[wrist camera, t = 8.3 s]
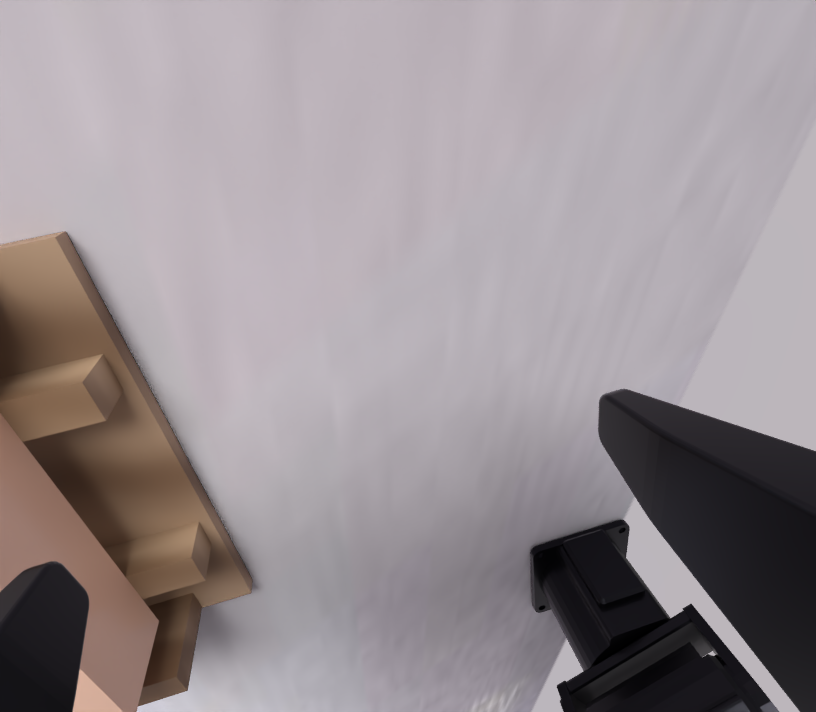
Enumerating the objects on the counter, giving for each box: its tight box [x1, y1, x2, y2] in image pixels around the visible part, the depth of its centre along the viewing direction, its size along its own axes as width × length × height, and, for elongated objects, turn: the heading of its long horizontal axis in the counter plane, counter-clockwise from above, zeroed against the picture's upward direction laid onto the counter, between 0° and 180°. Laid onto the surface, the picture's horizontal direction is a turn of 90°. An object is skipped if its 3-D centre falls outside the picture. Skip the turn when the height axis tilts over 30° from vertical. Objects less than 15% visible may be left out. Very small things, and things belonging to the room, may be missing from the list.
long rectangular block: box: [0, 413, 159, 712], centre depth 16 cm, size 14×4×4 cm, turn 10°
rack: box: [0, 232, 252, 706], centre depth 18 cm, size 19×10×5 cm, turn 10°
